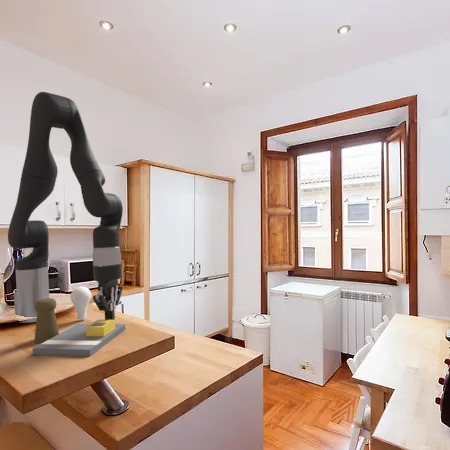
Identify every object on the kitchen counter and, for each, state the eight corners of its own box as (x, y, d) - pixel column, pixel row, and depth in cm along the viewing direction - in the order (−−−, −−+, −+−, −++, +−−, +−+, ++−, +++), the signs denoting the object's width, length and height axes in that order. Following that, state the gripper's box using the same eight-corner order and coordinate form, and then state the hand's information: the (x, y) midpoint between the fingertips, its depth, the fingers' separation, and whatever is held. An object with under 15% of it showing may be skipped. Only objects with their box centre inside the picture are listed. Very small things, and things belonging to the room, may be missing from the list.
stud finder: (86, 336, 81) (85, 326, 81) (98, 328, 87) (98, 319, 87) (103, 336, 81) (103, 326, 81) (115, 328, 87) (114, 319, 87)
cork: (31, 339, 85) (29, 299, 85) (55, 333, 90) (53, 295, 89) (38, 344, 81) (36, 303, 81) (63, 338, 85) (61, 298, 85)
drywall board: (32, 354, 75) (32, 348, 75) (78, 328, 93) (78, 323, 93) (90, 355, 73) (90, 349, 73) (125, 329, 91) (125, 324, 90)
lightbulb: (96, 318, 102) (94, 285, 102) (78, 324, 97) (77, 289, 97) (84, 316, 105) (83, 284, 105) (67, 321, 100) (66, 287, 100)
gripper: (106, 260, 95) (109, 316, 96) (81, 266, 82) (84, 331, 82) (129, 259, 94) (132, 316, 95) (108, 266, 81) (110, 331, 81)
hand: (110, 323), depth 89 cm, fingers closed
